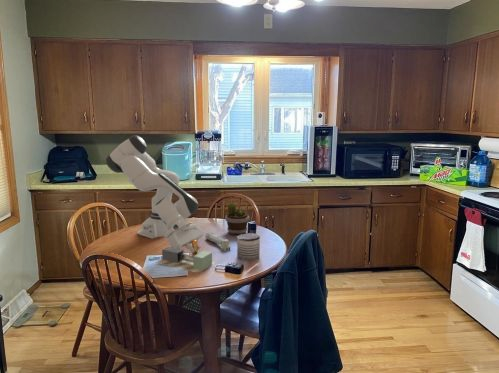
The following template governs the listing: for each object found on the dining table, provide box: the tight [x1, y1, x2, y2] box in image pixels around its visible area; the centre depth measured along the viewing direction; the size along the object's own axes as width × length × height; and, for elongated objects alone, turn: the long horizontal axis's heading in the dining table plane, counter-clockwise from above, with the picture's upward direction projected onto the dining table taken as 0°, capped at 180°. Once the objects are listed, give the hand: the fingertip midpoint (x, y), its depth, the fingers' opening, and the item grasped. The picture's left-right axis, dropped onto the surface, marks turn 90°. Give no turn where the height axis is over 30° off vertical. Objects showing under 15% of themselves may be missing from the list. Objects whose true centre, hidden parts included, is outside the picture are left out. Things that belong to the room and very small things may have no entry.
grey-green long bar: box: [205, 232, 232, 252], centre depth 208 cm, size 5×7×25 cm
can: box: [236, 232, 261, 261], centre depth 190 cm, size 11×11×12 cm
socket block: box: [193, 250, 213, 272], centre depth 176 cm, size 5×8×6 cm, turn 153°
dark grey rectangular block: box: [161, 246, 185, 263], centre depth 184 cm, size 9×5×5 cm, turn 63°
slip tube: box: [178, 240, 198, 262], centre depth 179 cm, size 16×3×11 cm, turn 63°
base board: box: [155, 259, 216, 274], centre depth 182 cm, size 25×14×1 cm, turn 63°
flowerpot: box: [224, 201, 250, 236], centre depth 229 cm, size 14×15×20 cm
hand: (196, 250), depth 177 cm, fingers closed on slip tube, 2 cm apart
